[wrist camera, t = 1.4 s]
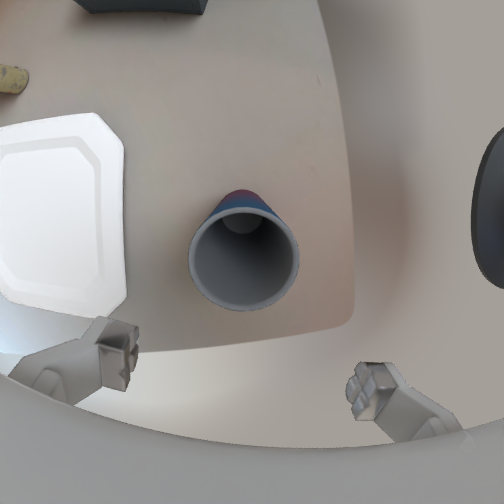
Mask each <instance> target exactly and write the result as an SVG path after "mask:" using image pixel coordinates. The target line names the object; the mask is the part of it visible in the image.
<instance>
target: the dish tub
mask: <svg viewBox="0 0 504 504" xmlns="http://www.w3.org/2000/svg"><path fill="white" fill-rule="evenodd" d="M74 1H75V2H76V3H78V4H79V5H80V6H82V7H83V8H84V9H85V10H87V11H88V12H89V13H104V12H123V11H161V12H180V13H193V14H203V13H204V10H205V7H206V4H207V1H208V0H74Z"/></svg>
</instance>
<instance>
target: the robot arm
mask: <svg viewBox="0 0 504 504" xmlns="http://www.w3.org/2000/svg"><path fill="white" fill-rule="evenodd" d="M138 337H139V327H138V326H135V325H131V324H128V323H124V322H121V321H117V320H114V319H110V318H107V317H103V316H97V317H96V318H95V320H94V321H93V322H92V324H91V325H90V326H89V328H88V329H87V331H86V332H85V333H84V335H83V336H82V337H81V339H77V338H76V339H73V340H71V341H68V342H65V343H62V344H59V345H56V346H53V347H51V348H48V349H45V350H42V351H39V352H36V353H33V354H30V355H27V356H24V357H23V358H22V359H21V360H20V361H19V363H18V364H17V365H16V366H15V367H14V369H13V370H12V371H11V372H10V374H9V375H8V376H6V375H4V374H2V373H0V504H504V418H502V419H499V420H496V421H493V422H489V423H486V424H483V425H479V426H476V427H473V428H468V429H465V430H463V428H462V426H461V425H460V423H459V422H458V420H457V419H456V417H455V416H454V414H453V413H452V412H450V411H449V410H447V409H445V408H444V407H442V406H441V405H439V404H438V403H436V402H434V401H433V400H431V399H430V398H428V397H427V396H425V395H423V394H422V393H420V392H419V391H417V390H416V389H414V388H412V387H409V386H408V384H407V383H406V381H405V380H404V378H403V376H402V375H401V373H400V372H399V370H398V369H397V367H396V366H395V364H393V363H387V362H382V363H375V362H374V363H373V362H359V363H358V364H357V365H356V367H355V369H354V371H355V375H354V376H352V377H351V378H350V379H349V381H348V383H347V385H346V397H347V400H348V401H349V402H350V403H351V404H352V405H353V406H352V408H351V410H352V413H353V415H354V418H355V420H356V421H374V422H375V423H376V424H377V425H378V426H379V427H380V428H381V429H382V430H383V431H384V432H385V433H386V434H387V435H388V436H389V437H390V438H391V439H392V440H393V441H395V443H390V444H382V445H372V446H361V447H343V448H278V447H262V446H249V445H238V444H230V443H222V442H214V441H208V440H201V439H195V438H190V437H184V436H178V435H173V434H169V433H164V432H160V431H155V430H151V429H147V428H143V427H139V426H135V425H132V424H128V423H124V422H121V421H117V420H114V419H111V418H108V417H104V416H101V415H98V414H95V413H92V412H89V411H86V410H84V409H81V408H78V407H75V406H74V405H75V404H77V403H78V402H80V401H81V400H83V399H84V398H86V397H88V396H89V395H91V394H92V393H94V392H95V391H97V390H98V389H100V388H101V387H102V386H104V387H107V388H111V389H115V390H119V391H122V392H125V391H126V388H127V386H128V384H129V381H130V372H133V371H134V369H135V366H136V363H137V359H138V348H139V346H138V345H137V343H136V342H137V340H138Z"/></svg>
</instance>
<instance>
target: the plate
mask: <svg viewBox="0 0 504 504" xmlns="http://www.w3.org/2000/svg"><path fill="white" fill-rule="evenodd" d="M123 164H124V147H123V144H122V141H121V140H120V139H119V138H118V137H117V136H116V135H115V133H114V132H113V131H112V130H111V129H110V128H109V127H108V125H107V124H106V123H105V122H104V121H103V120H102V118H101V117H100V116H99V115H98V114H95V113H84V114H75V115H67V116H60V117H53V118H46V119H40V120H34V121H29V122H24V123H19V124H14V125H9V126H4V127H0V291H1V293H2V294H3V295H4V296H5V298H6V299H7V300H8V301H10V302H12V303H16V304H21V305H25V306H30V307H34V308H39V309H44V310H49V311H54V312H59V313H64V314H70V315H75V316H81V317H87V318H93V319H95V318H96V317H97V316H103V317H107V316H108V315H109V314H110V313H111V312H112V311H114V310H115V309H116V308H117V307H118V306H119V305H120V304H121V303H122V302H123V301H124V300H125V299H126V296H127V285H126V273H125V258H124V237H123Z"/></svg>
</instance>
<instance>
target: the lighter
mask: <svg viewBox="0 0 504 504" xmlns="http://www.w3.org/2000/svg"><path fill="white" fill-rule="evenodd" d="M27 82H28V72H27V71H26V70H25V69H19V68H18V67H11V66H6V65H2V64H0V92H5V93H12V94H18V93H20V92H21V91H22V90H23V89H24V88H25V86H26V84H27Z"/></svg>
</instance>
